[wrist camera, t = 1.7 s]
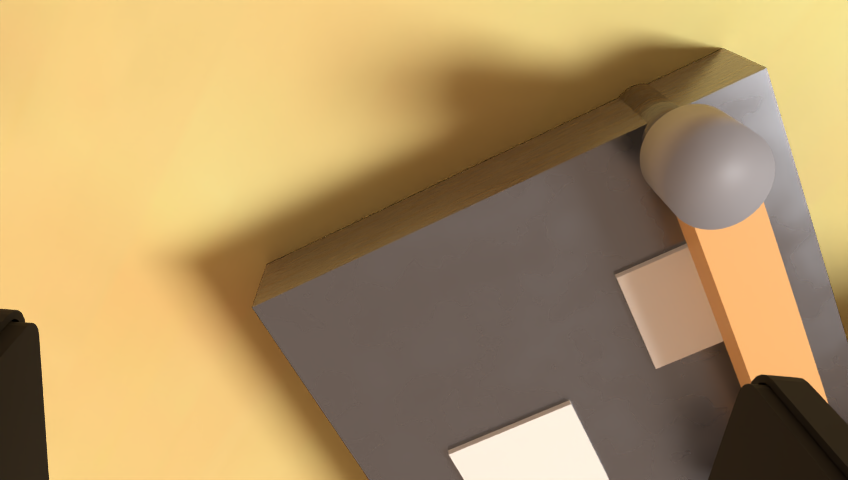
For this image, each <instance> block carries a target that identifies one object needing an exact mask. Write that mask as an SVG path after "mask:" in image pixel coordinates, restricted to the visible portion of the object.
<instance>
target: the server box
mask: <svg viewBox="0 0 848 480" xmlns="http://www.w3.org/2000/svg"><path fill="white" fill-rule="evenodd" d="M689 104H705V105H710V106H713V107H715V108H718V109H720V110H721V111H723V112H724V113H726V114H727V115H729V116H730V117H732V118H734V119H735V120H737V121H738V122H740V123H741V124H743V125H744V126H746V127H747V128H749V129H751V130H752V131H754V132H755V133H757V134H758V135H760V136H761V137H762V138H763V139H764V140H765V141H766V143H767V144H768V145H769V147H770V149H771V151H772V154H773V156H774V161H775V177H774V181H773V185H772V188H771V190H770V192H769V194H768V196H767V198H766V199H765V201H764V205H765V208H766V211H767V214H768V217H769V220H770V223H771V226H772V229H773V233H774V236H775V239H776V242H777V245H778V248H779V251H780V254H781V257H782V261H783V264H784V267H785V270H786V273H787V276H788V279H789V282H790V286H791V289H792V292H793V295H794V298H795V301H796V304H797V307H798V310H799V314H800V317H801V320H802V323H803V326H804V329H805V332H806V335H807V339H808V342H809V345H810V348H811V351H812V354H813V357H814V360H815V363H816V367H817V370H818V373H819V376H820V379H821V382H822V385H823V388H824V391H825V395H826V398H827V401H828V404H829V405H830V406H831V407H832V408H833V409H834V410H835V411H836V412H837V414H838V415H839V416H840V417H841V418H842V419H843V420H844V421H845V422H846V423H847V424H848V342H847V339H846V335H845V332H844V329H843V325H842V322H841V318H840V315H839V312H838V308H837V305H836V302H835V298H834V295H833V291H832V288H831V285H830V281H829V278H828V274H827V271H826V268H825V264H824V261H823V257H822V254H821V251H820V247H819V244H818V240H817V237H816V234H815V230H814V227H813V223H812V220H811V217H810V213H809V210H808V207H807V203H806V200H805V196H804V193H803V190H802V186H801V183H800V179H799V176H798V173H797V169H796V166H795V162H794V159H793V156H792V152H791V149H790V145H789V142H788V139H787V135H786V132H785V129H784V125H783V122H782V118H781V115H780V112H779V108H778V105H777V101H776V98H775V95H774V91H773V88H772V84H771V81H770V78H769V74H768V71H767V68H766V67H764V66H761V65H759V64H757V63H755V62H753V61H750V60H748V59H746V58H744V57H742V56H739V55H737V54H735V53H733V52H731V51H728V50H726V49H724V48H723V49H721V50H719V51H717V52H714V53H712V54H710V55H708V56H706V57H704V58H702V59H700V60H698V61H695V62H693V63H691V64H689V65H687V66H685V67H683V68H681V69H679V70H676V71H674V72H672V73H670V74H668V75H666V76H664V77H662V78H660V79H657V80H655V81H653V82H651V83H649V84H638V85H635V86H632V87H630V88H629V89H627V90H626V91H625V92H623V93H622V94H621V96H620V97H619V98H617V99H615V100H613V101H611V102H609V103H607V104H605V105H603V106H600V107H598V108H596V109H594V110H592V111H590V112H588V113H586V114H584V115H581V116H579V117H577V118H575V119H573V120H571V121H569V122H567V123H565V124H562V125H560V126H558V127H556V128H554V129H552V130H550V131H548V132H546V133H543V134H541V135H539V136H537V137H535V138H533V139H531V140H529V141H527V142H524V143H522V144H520V145H518V146H516V147H514V148H512V149H510V150H508V151H505V152H503V153H501V154H499V155H497V156H495V157H493V158H491V159H489V160H486V161H484V162H482V163H480V164H478V165H476V166H474V167H472V168H470V169H467V170H465V171H463V172H461V173H459V174H457V175H455V176H453V177H451V178H448V179H446V180H444V181H442V182H440V183H438V184H436V185H434V186H432V187H429V188H427V189H425V190H423V191H421V192H419V193H417V194H415V195H413V196H410V197H408V198H406V199H404V200H402V201H400V202H398V203H396V204H394V205H391V206H389V207H387V208H385V209H383V210H381V211H379V212H377V213H375V214H372V215H370V216H368V217H366V218H364V219H362V220H360V221H358V222H356V223H353V224H351V225H349V226H347V227H345V228H343V229H341V230H339V231H337V232H334V233H332V234H330V235H328V236H326V237H324V238H322V239H320V240H318V241H315V242H313V243H311V244H309V245H307V246H305V247H303V248H301V249H299V250H296V251H294V252H292V253H290V254H288V255H286V256H284V257H282V258H280V259H277V260H275V261H273V262H271V263H269V264H267V265H266V268H265V271H264V274H263V277H262V280H261V283H260V286H259V289H258V291H257V294H256V297H255V300H254V303H253V306H252V308H253V310H254V311H255V313H256V314H257V316H258V317H259V318H260V320H261V321H262V323H263V324H264V326H265V327H266V329H267V330H268V332H269V333H270V335H271V336H272V338H273V339H274V341H275V342H276V343H277V345H278V346H279V348H280V349H281V351H282V352H283V354H284V355H285V357H286V358H287V360H288V361H289V363H290V364H291V366H292V367H293V368H294V370H295V371H296V373H297V374H298V376H299V377H300V379H301V380H302V382H303V383H304V385H305V386H306V388H307V389H308V391H309V392H310V394H311V395H312V396H313V398H314V399H315V401H316V402H317V404H318V405H319V407H320V408H321V410H322V411H323V413H324V414H325V416H326V417H327V419H328V420H329V421H330V423H331V424H332V426H333V427H334V429H335V430H336V432H337V433H338V435H339V436H340V438H341V439H342V441H343V442H344V444H345V445H346V447H347V448H348V449H349V451H350V452H351V454H352V455H353V457H354V458H355V460H356V461H357V463H358V464H359V466H360V467H361V469H362V470H363V472H364V473H365V474H366V476H367V477H368V479H369V480H464V479H463V477H462V476H461V474H460V472H459V471H458V469H457V468H456V466H455V464H454V463H453V461H452V459H451V458H450V456H449V453H448V450H450V449H453V448H455V447H457V446H460V445H462V444H465V443H467V442H469V441H472V440H474V439H477V438H479V437H482V436H484V435H486V434H489V433H491V432H494V431H496V430H498V429H501V428H503V427H506V426H508V425H511V424H513V423H515V422H518V421H520V420H523V419H525V418H527V417H530V416H532V415H535V414H537V413H540V412H542V411H544V410H547V409H549V408H552V407H554V406H556V405H559V404H561V403H564V402H566V401H569V400H570V402H571V404H572V406H573V408H574V410H575V412H576V414H577V416H578V418H579V420H580V422H581V424H582V426H583V428H584V430H585V432H586V434H587V436H588V438H589V440H590V442H591V444H592V446H593V448H594V450H595V452H596V454H597V456H598V458H599V460H600V462H601V464H602V466H603V468H604V470H605V472H606V474H607V476H608V478H609V480H708V478H709V475H710V472H711V470H712V467H713V464H714V461H715V458H716V455H717V452H718V449H719V447H720V444H721V441H722V438H723V435H724V432H725V429H726V426H727V424H728V421H729V418H730V415H731V412H732V409H733V406H734V403H735V401H736V398H737V395H738V392H739V390H740V388H741V386H740V383H739V381H738V378H737V375H736V373H735V370H734V367H733V365H732V362H731V359H730V357H729V354H728V351H727V349H726V346H725V343H724V341H723V342H720V343H718V344H716V345H713V346H711V347H708V348H706V349H703V350H701V351H699V352H696V353H694V354H691V355H689V356H686V357H684V358H682V359H679V360H677V361H674V362H672V363H670V364H667V365H665V366H662V367H660V368H657V369H656V368H655V366H654V364H653V362H652V359H651V357H650V355H649V353H648V350H647V348H646V346H645V343H644V341H643V339H642V336H641V334H640V332H639V329H638V327H637V325H636V322H635V320H634V318H633V315H632V313H631V311H630V308H629V306H628V304H627V302H626V299H625V297H624V295H623V292H622V290H621V288H620V285H619V283H618V281H617V278H616V276H615V274H618V273H620V272H622V271H624V270H627V269H629V268H631V267H634V266H636V265H638V264H641V263H643V262H645V261H647V260H650V259H652V258H654V257H657V256H659V255H661V254H663V253H666V252H668V251H670V250H673V249H675V248H677V247H679V246H682V245H684V244H686V240H685V238H684V235H683V232H682V230H681V227H680V224H679V222H678V219H677V216H676V215H675V214H674V213H673V212H672V211H671V209H670V208H669V207H668V206H667V205H666V204H665V203H664V202H663V200H662V199H661V198H660V197H659V196H658V195H657V194H656V193H655V192H654V190H653V189H652V188H651V187H650V186H649V185H648V183H647V182H646V181H645V179H644V177H643V175H642V172H641V168H640V150H641V146H642V143H643V141H644V138H645V136H646V134H647V133H648V131H649V130H650V128H651V127H652V126H653V124H654V123H655V122H656V121H657V120H658V119H659V118H661V117H662V116H663V115H665V114H666V113H668V112H669V111H671V110H673V109H675V108H678V107H680V106H684V105H689Z"/></svg>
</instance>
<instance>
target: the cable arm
mask: <svg viewBox="0 0 848 480" xmlns="http://www.w3.org/2000/svg"><path fill="white" fill-rule="evenodd" d="M640 168H641V172H642V175H643V177H644V179H645V181H646V182H647V183H648V185H649V186H650V187H651V188H652V189H653V190H654V192H655V193H656V194H657V195H658V196H659V197H660V198H661V199H662V200H663V202H664V203H665V204H666V205H667V206H668V207H669V208H670V209H671V211H672V212H673V213H674V214H675V215H676V216H677V219H678V222H679V224H680V227H681V230H682V232H683V235H684V238H685V240H686V243H687V246H688V248H689V251H690V253H691V256H692V259H693V261H694V264H695V267H696V269H697V272H698V275H699V277H700V280H701V283H702V285H703V288H704V291H705V293H706V296H707V298H708V301H709V304H710V306H711V309H712V312H713V314H714V317H715V320H716V322H717V325H718V328H719V330H720V333H721V336H722V338H723V341H724V343H725V346H726V349H727V351H728V354H729V357H730V359H731V362H732V365H733V367H734V370H735V373H736V375H737V378H738V381H739V383H740V386H741V387H742V386H743V385H745V384H751V382H752V380H753V379H754V378H755V377H756V376H758V375H761V374H763V375H775V376H786V377H798V378H803V379H804V380H806V381H807V382H808V383H809V384H810V385H811V386H812V387H813V388H814V389H815V390H816V391H817V392H818V393H819V394H820V395H821V396H822V398H823V399H824V400H825V401H826V402H827V403H828V401H827V398H826V395H825V391H824V388H823V385H822V382H821V379H820V376H819V373H818V370H817V367H816V363H815V360H814V357H813V354H812V351H811V348H810V345H809V342H808V339H807V335H806V332H805V329H804V326H803V323H802V320H801V317H800V314H799V310H798V307H797V304H796V301H795V298H794V295H793V292H792V289H791V286H790V282H789V279H788V276H787V273H786V270H785V267H784V264H783V261H782V257H781V254H780V251H779V248H778V245H777V242H776V239H775V236H774V233H773V229H772V226H771V223H770V220H769V217H768V214H767V211H766V208H765V205H764V201H765V199H766V198H767V196H768V194H769V192H770V190H771V188H772V185H773V181H774V177H775V161H774V156H773V154H772V151H771V149H770V147H769V145H768V144H767V143H766V141H765V140H764V139H763V138H762V137H761V136H760V135H758V134H757V133H755V132H754V131H752V130H751V129H749V128H747V127H746V126H744V125H743V124H741V123H740V122H738V121H737V120H735V119H734V118H732V117H730V116H729V115H727V114H726V113H724V112H723V111H721V110H720V109H718V108H715V107H713V106H710V105H705V104H689V105H684V106H680V107H678V108H675V109H673V110H671V111H669V112H668V113H666V114H665V115H663V116H662V117H661V118H659V119H658V120H657V121H656V122H655V123H654V124H653V126H652V127H651V128H650V130H649V131H648V133H647V134H646V136H645V138H644V141H643V143H642V146H641V150H640Z"/></svg>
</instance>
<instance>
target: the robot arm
mask: <svg viewBox="0 0 848 480" xmlns="http://www.w3.org/2000/svg"><path fill="white" fill-rule="evenodd" d="M0 480H49V473H48V459H47V444H46V429H45V415H44V400H43V386H42V371H41V357H40V342H39V332H38V328H37V326H36V325H35V324H34V323H25V319H24V317H23V315H22V313H21V312H20V311H18V310H8V309H0ZM708 480H848V424H847V423H846V422H845V421H844V420H843V419H842V418H841V417H840V416H839V415H838V414H837V412H836V411H835V410H834V409H833V408H832V407H831V406H830V405H829V404H828V403H827V402H826V401H825V400H824V399H823V398H822V396H821V395H820V394H819V393H818V392H817V391H816V390H815V389H814V388H813V387H812V386H811V385H810V384H809V383H808V382H807V381H806V380H804V379H803V378H798V377H786V376H775V375H763V374H761V375H758V376H756V377H755V378H754V379H753V380H752V382H751V384H745V385H743V386H742V387H741V388H740V390H739V392H738V395H737V398H736V401H735V403H734V406H733V409H732V412H731V415H730V418H729V421H728V424H727V426H726V429H725V432H724V435H723V438H722V441H721V444H720V447H719V449H718V452H717V455H716V458H715V461H714V464H713V467H712V470H711V472H710V475H709V478H708Z"/></svg>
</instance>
